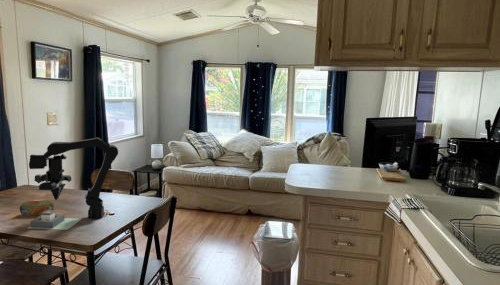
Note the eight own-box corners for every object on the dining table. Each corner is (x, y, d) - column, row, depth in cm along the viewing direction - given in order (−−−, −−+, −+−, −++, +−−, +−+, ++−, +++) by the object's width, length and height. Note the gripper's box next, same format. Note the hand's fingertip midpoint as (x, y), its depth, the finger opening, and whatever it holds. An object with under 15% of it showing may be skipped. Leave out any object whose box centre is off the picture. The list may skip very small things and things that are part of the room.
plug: (54, 222, 154) (54, 210, 153) (50, 225, 150) (49, 212, 149) (46, 222, 153) (46, 209, 153) (41, 225, 149) (41, 212, 149)
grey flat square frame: (64, 220, 157) (64, 214, 156) (53, 228, 147) (52, 221, 146) (43, 219, 156) (43, 213, 156) (30, 227, 146) (30, 220, 146)
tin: (19, 217, 159) (19, 201, 158) (22, 215, 162) (21, 199, 161) (53, 216, 163) (53, 200, 162) (55, 214, 166) (55, 198, 165)
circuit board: (81, 220, 160) (81, 218, 160) (67, 231, 146) (67, 229, 146) (45, 218, 159) (45, 217, 159) (27, 229, 145) (27, 228, 145)
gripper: (48, 164, 161) (49, 193, 163) (25, 171, 143) (27, 205, 145) (71, 164, 162) (72, 194, 164) (51, 172, 144) (52, 205, 146)
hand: (56, 199), depth 155 cm, fingers closed
